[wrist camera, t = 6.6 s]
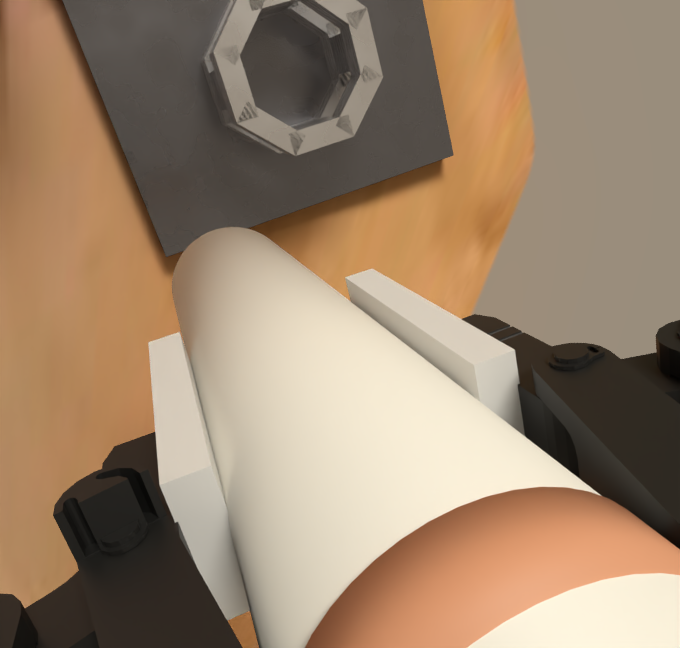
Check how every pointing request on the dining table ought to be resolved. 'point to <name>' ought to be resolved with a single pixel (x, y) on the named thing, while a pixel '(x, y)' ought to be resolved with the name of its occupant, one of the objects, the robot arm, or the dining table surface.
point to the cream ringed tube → (394, 483)
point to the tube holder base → (261, 102)
